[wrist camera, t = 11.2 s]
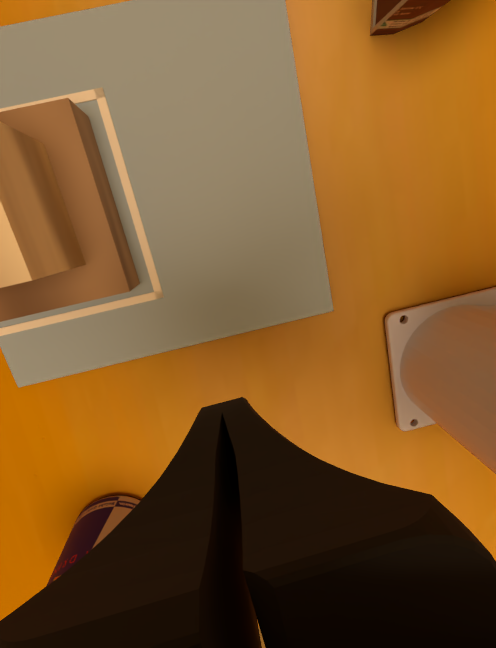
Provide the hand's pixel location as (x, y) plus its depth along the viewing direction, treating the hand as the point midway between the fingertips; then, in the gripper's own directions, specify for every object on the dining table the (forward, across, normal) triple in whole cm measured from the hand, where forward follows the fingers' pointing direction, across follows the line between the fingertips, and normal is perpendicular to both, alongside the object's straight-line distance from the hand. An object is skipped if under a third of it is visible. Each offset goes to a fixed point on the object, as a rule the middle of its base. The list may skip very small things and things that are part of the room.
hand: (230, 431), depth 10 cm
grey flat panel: (+10, +2, -8) cm, 13 cm away
